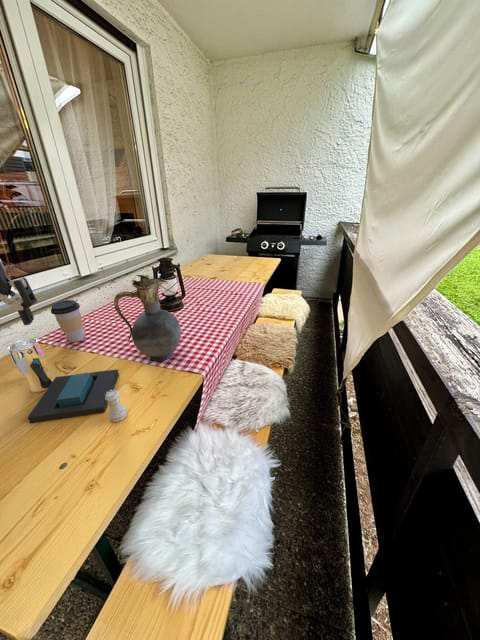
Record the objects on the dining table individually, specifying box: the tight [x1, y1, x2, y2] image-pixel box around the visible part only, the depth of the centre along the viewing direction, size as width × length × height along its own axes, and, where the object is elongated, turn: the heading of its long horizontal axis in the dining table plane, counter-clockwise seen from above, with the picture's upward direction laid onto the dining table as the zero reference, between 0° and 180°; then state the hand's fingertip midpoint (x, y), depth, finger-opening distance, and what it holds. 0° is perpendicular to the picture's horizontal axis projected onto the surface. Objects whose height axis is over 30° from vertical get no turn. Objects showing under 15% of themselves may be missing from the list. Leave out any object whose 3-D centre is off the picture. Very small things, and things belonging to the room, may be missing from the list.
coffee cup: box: [50, 299, 86, 343], centre depth 99 cm, size 9×9×15 cm
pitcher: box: [113, 274, 182, 362], centre depth 84 cm, size 11×19×30 cm, turn 97°
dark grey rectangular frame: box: [27, 369, 120, 424], centre depth 74 cm, size 18×16×2 cm
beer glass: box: [7, 337, 55, 394], centre depth 75 cm, size 7×7×15 cm
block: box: [57, 372, 95, 408], centre depth 73 cm, size 6×10×4 cm, turn 11°
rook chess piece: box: [105, 389, 128, 423], centre depth 66 cm, size 4×4×8 cm
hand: (7, 325), depth 58 cm, fingers open, 8 cm apart
